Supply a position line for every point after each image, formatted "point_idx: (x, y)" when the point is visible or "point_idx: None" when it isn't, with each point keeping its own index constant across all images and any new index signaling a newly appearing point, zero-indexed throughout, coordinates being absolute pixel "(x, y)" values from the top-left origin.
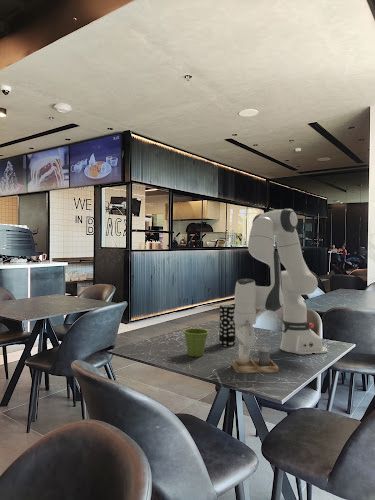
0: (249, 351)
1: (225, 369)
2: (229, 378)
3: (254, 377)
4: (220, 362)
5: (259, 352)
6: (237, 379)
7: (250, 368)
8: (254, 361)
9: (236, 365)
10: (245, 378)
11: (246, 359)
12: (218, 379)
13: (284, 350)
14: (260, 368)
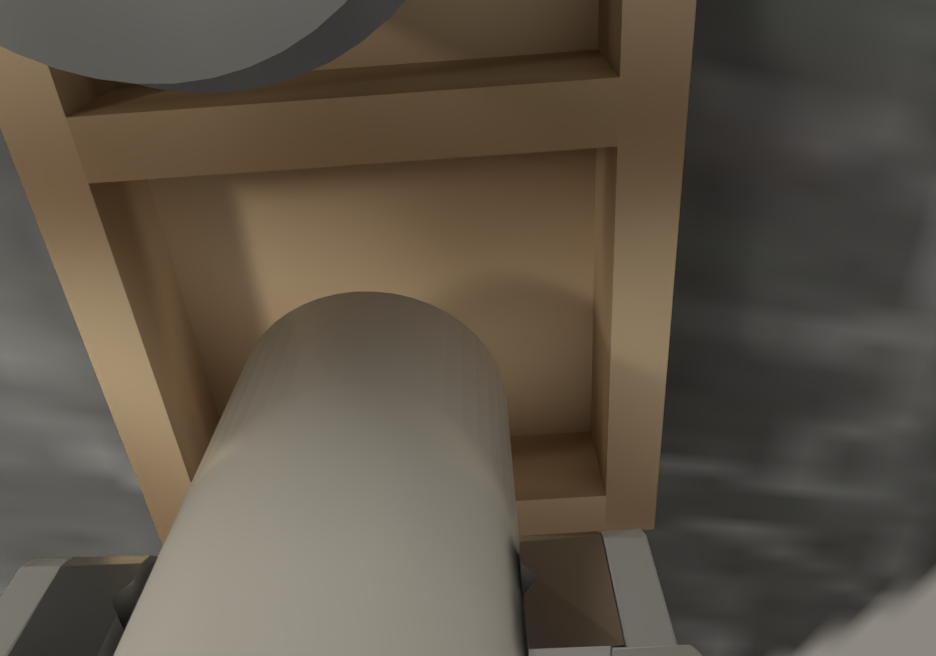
0: (401, 498)
1: None
2: (755, 528)
3: (782, 155)
4: (4, 578)
5: (309, 68)
6: (820, 438)
7: (670, 272)
8: (67, 75)
9: (523, 517)
10: (802, 321)
11: (503, 426)
12: (767, 636)
13: None
14: (688, 17)
